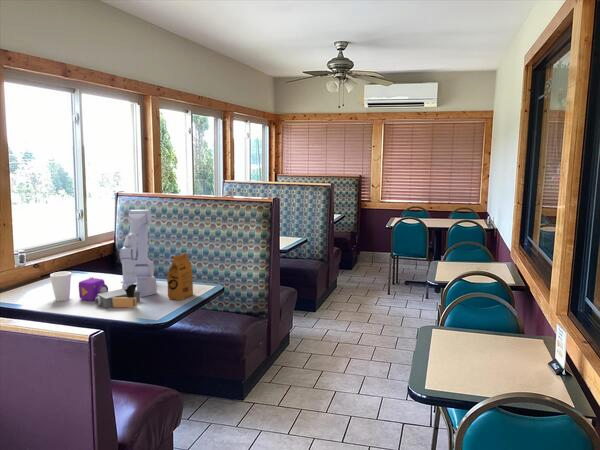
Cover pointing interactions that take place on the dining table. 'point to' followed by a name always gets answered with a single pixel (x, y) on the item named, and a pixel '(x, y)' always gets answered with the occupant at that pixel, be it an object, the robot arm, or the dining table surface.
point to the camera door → (124, 302)
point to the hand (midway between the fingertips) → (130, 299)
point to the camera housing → (106, 297)
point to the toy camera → (91, 288)
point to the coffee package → (180, 278)
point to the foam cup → (61, 285)
